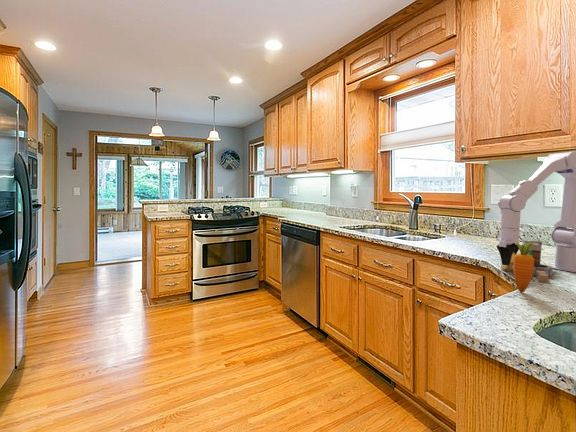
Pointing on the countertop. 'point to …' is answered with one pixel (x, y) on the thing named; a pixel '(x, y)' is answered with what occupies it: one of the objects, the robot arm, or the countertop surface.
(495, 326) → the countertop surface
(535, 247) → the food container
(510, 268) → the peg
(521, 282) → the carrot
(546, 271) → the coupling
